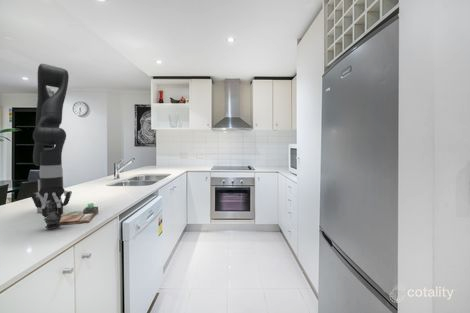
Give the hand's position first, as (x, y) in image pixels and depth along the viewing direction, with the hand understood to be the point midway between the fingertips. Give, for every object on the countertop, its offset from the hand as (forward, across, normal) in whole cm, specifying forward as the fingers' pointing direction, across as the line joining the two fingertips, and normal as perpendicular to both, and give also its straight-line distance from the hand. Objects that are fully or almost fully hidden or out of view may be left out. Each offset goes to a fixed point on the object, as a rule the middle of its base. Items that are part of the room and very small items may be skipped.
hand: (52, 216), depth 97 cm
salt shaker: (+5, 0, 0) cm, 5 cm away
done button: (+3, -10, -18) cm, 21 cm away
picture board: (+5, -4, -13) cm, 15 cm away
